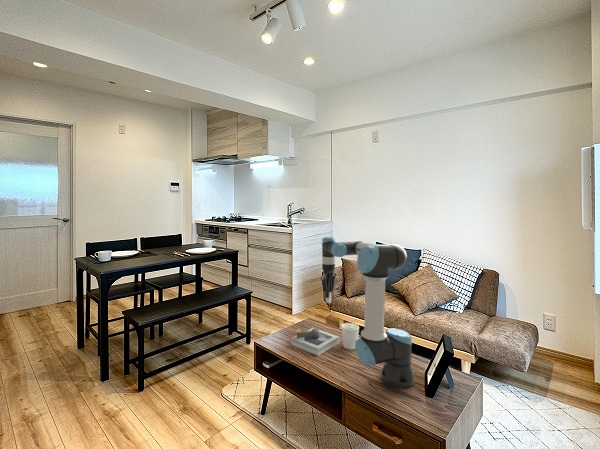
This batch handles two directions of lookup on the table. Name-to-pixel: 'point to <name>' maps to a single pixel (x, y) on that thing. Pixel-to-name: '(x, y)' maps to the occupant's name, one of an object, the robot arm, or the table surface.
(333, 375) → the table surface
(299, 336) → the dial
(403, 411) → the table surface
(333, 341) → the dial panel
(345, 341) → the candle holder
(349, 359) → the table surface
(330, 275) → the robot arm
